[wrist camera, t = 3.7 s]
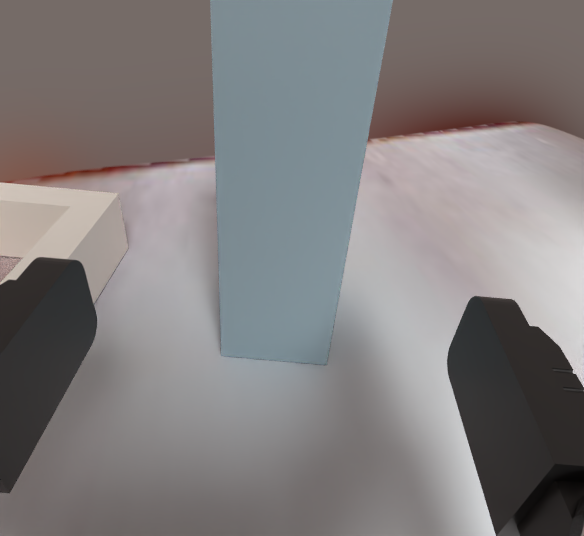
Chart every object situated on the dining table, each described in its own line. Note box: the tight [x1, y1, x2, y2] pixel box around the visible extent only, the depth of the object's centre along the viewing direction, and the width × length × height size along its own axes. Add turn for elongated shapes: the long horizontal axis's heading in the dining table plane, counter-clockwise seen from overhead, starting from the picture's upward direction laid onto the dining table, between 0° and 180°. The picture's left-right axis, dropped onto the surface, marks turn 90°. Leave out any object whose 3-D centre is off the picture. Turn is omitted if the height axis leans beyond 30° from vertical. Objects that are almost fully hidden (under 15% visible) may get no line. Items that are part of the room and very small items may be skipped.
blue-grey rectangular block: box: [210, 0, 393, 365], centre depth 15 cm, size 4×5×12 cm
